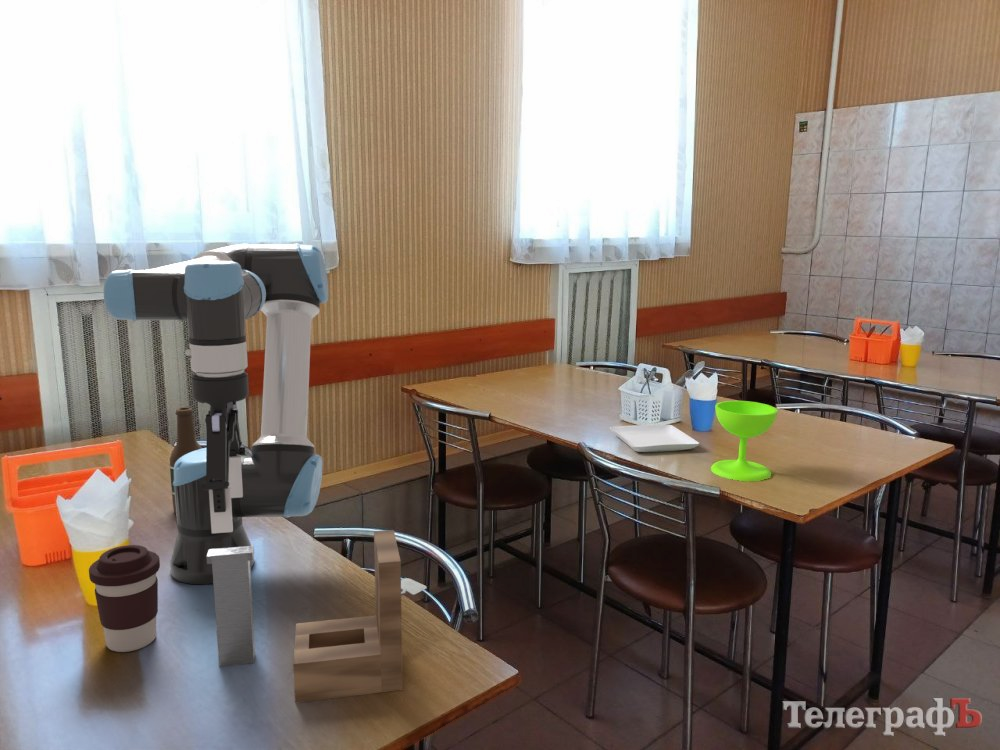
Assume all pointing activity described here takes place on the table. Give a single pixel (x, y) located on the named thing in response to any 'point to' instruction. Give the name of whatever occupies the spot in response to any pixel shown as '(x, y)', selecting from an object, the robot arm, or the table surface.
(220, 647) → the rail
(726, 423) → the wineglass
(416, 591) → the mounting bracket
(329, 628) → the slotted wooden l-bracket
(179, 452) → the beer bottle
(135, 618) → the coffee cup
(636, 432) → the salad plate
